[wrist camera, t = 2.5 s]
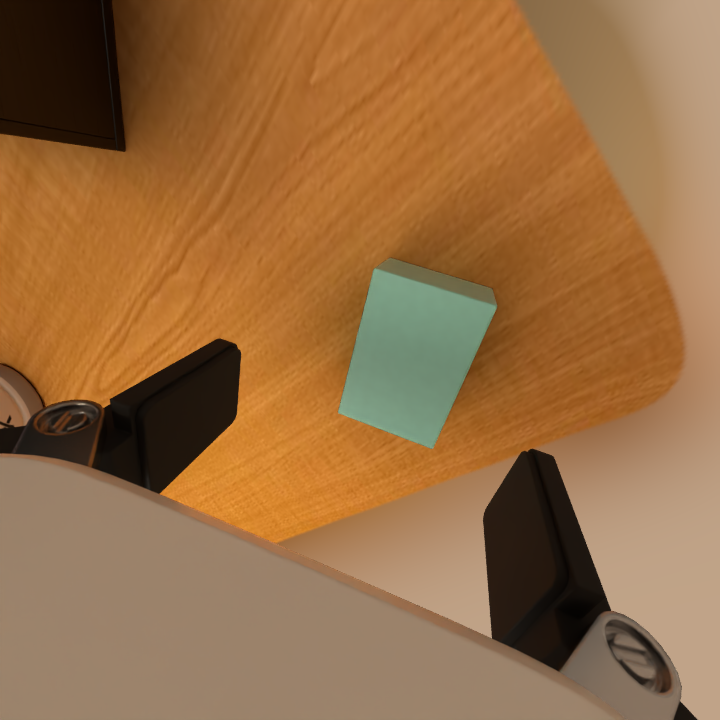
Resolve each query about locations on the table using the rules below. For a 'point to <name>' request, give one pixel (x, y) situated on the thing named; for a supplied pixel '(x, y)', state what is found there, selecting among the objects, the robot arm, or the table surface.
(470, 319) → the green rectangular block
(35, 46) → the black flip-lid box
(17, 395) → the travel mug
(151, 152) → the table surface
